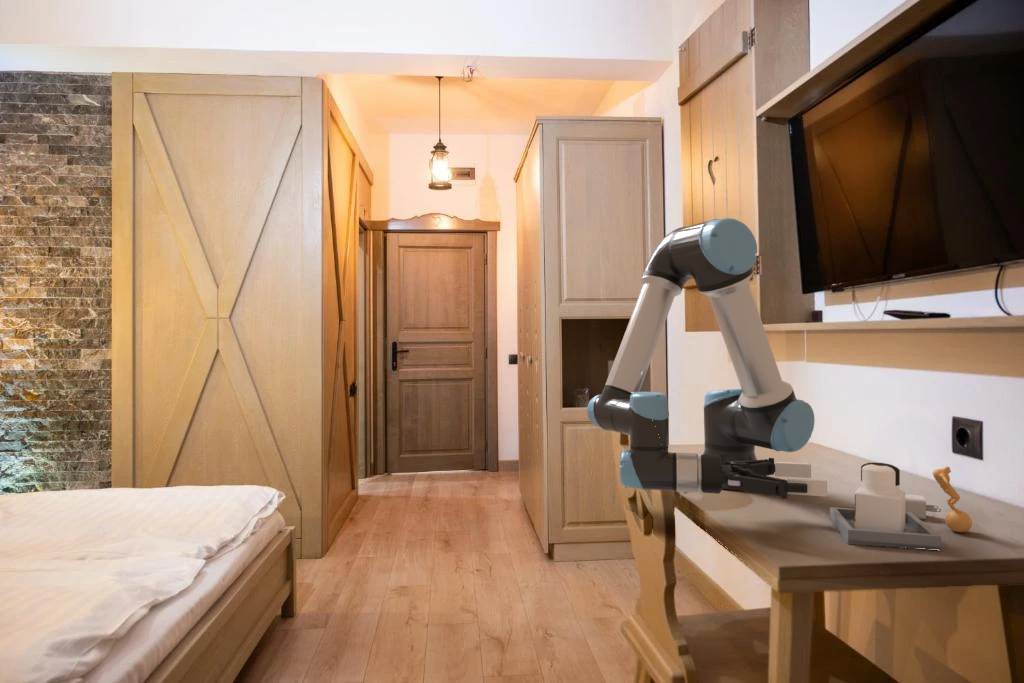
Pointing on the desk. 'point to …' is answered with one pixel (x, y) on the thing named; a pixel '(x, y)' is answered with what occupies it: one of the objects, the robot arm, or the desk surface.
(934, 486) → the desk surface
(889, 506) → the medicine bottle
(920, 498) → the usb wall charger
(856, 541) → the tray
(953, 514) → the figurine
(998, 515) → the desk surface
